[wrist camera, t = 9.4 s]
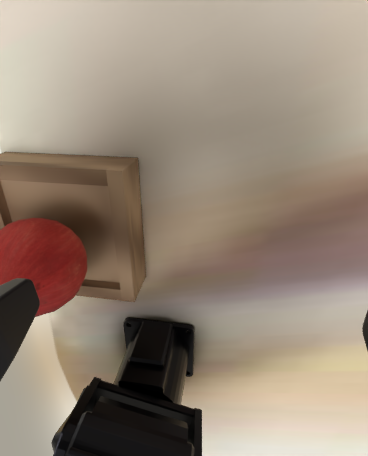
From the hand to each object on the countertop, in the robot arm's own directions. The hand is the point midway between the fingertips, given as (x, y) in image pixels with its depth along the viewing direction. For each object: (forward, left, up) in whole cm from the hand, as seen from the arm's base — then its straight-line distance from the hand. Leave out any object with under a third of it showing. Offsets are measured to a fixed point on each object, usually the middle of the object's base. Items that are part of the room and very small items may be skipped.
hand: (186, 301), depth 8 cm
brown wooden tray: (-5, +10, -13) cm, 17 cm away
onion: (-5, +10, -11) cm, 16 cm away
